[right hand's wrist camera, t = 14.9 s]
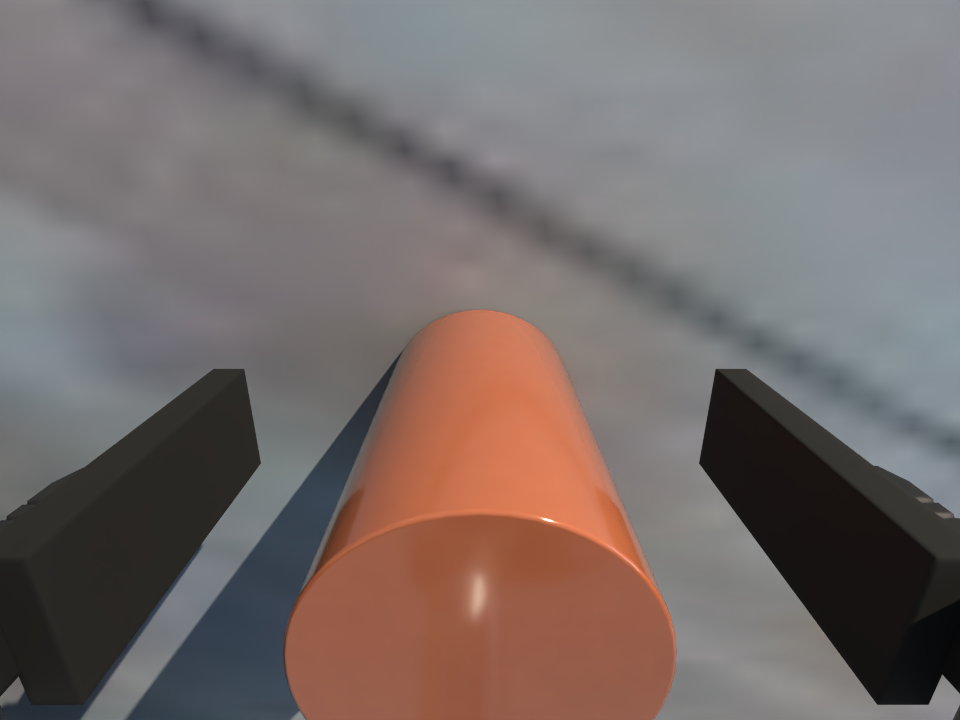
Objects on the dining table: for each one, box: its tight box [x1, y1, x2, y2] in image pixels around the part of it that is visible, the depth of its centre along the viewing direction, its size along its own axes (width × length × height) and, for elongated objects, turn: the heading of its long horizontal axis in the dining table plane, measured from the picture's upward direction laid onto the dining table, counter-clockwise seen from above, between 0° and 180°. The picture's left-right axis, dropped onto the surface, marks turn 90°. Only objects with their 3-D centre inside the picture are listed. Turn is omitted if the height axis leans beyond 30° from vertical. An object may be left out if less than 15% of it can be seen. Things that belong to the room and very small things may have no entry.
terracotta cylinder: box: [283, 310, 677, 720], centre depth 10 cm, size 5×5×8 cm
